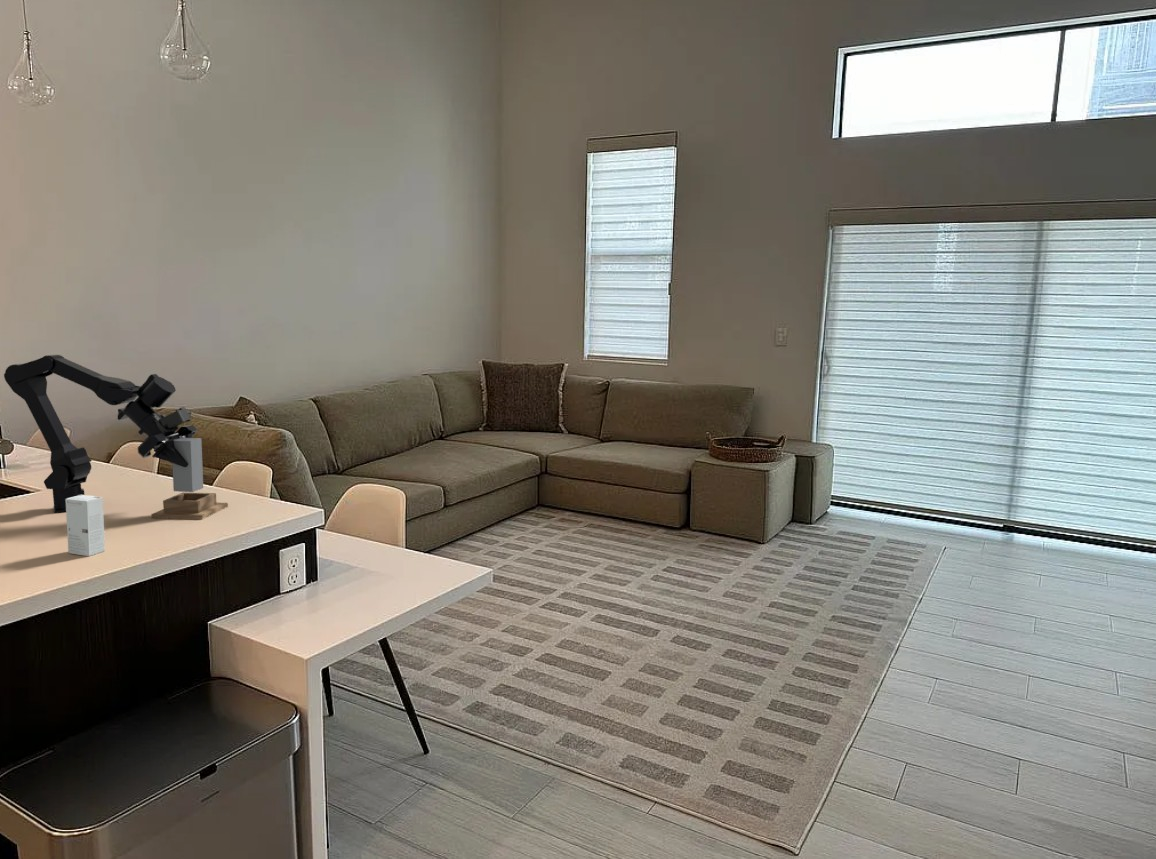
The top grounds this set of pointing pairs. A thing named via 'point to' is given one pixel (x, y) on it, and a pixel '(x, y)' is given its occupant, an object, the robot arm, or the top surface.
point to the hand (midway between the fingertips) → (192, 464)
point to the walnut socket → (190, 506)
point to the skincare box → (85, 525)
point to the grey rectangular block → (193, 473)
